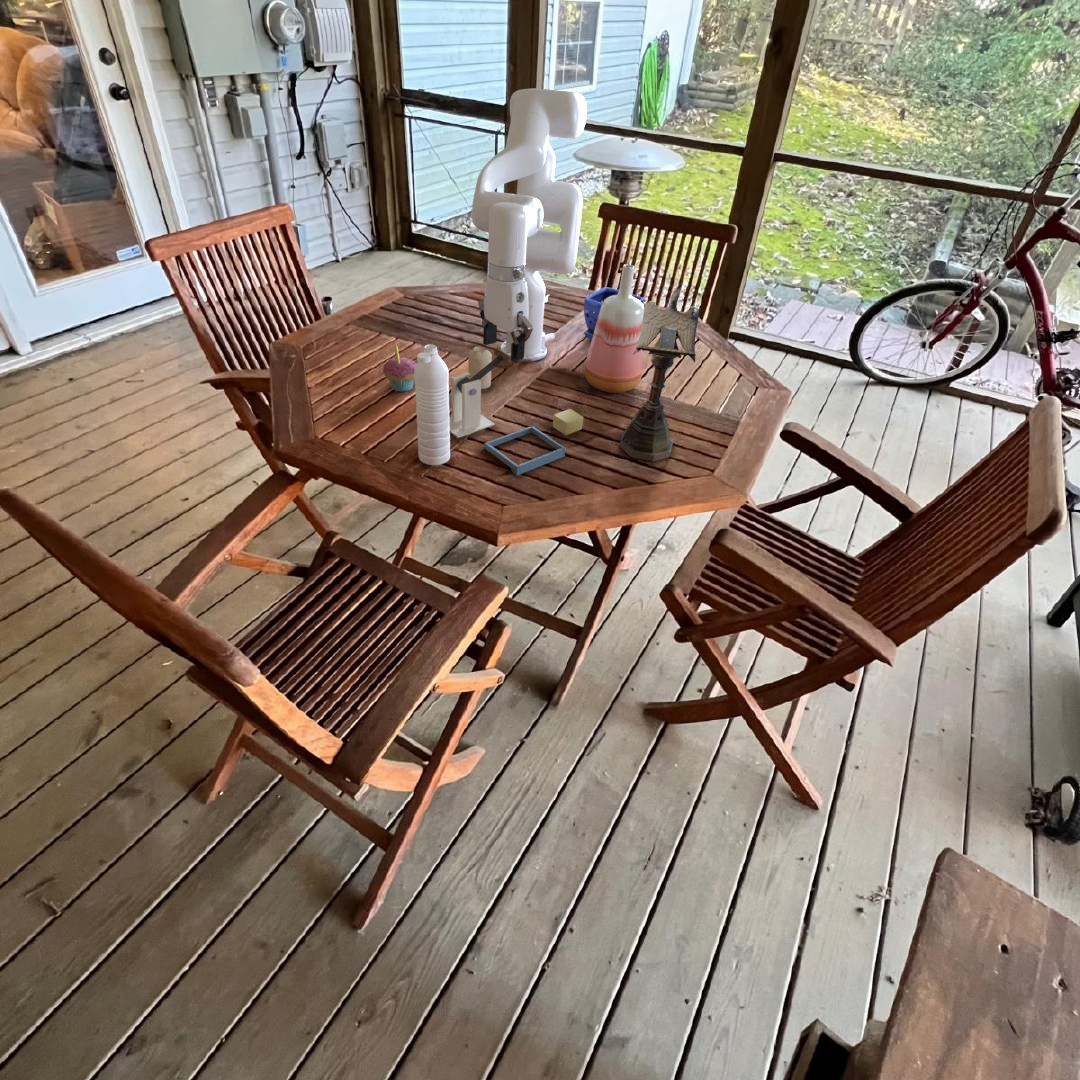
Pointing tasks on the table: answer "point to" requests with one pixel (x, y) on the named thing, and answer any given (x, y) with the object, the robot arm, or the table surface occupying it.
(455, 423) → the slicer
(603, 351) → the vase
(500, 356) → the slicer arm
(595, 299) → the flower pot
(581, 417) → the butter
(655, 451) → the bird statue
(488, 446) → the dish
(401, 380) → the cupcake
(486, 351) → the candle
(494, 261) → the robot arm
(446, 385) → the water bottle
